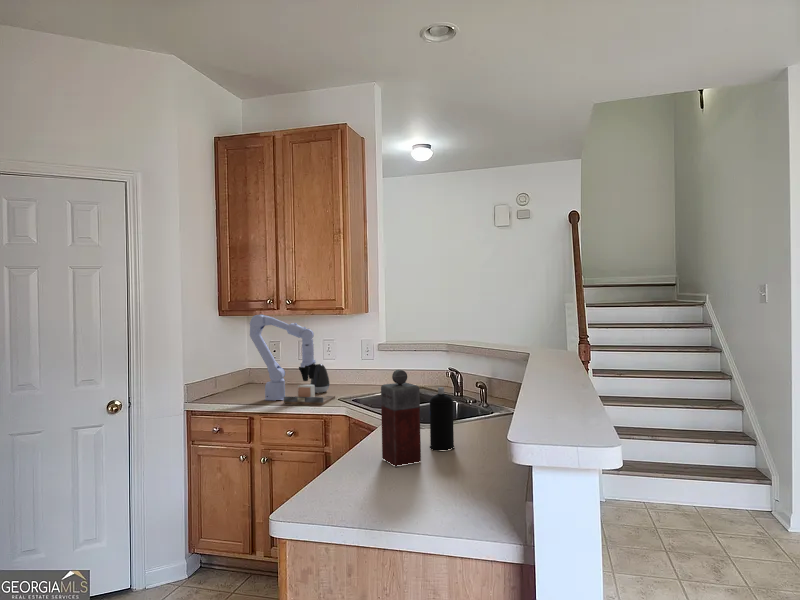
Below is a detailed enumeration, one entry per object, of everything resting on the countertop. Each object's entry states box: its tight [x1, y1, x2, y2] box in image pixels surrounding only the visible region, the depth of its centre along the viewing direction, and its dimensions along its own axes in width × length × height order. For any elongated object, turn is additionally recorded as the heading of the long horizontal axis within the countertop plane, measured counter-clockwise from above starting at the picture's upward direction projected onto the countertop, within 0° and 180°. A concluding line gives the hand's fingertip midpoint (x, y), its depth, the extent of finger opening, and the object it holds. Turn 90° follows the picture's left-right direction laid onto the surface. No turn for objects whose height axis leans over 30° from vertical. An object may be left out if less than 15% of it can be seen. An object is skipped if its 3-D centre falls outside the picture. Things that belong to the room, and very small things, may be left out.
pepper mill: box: [380, 369, 422, 466], centre depth 163 cm, size 9×11×28 cm
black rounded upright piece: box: [309, 363, 331, 394], centre depth 285 cm, size 10×10×15 cm
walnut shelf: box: [283, 395, 336, 406], centre depth 261 cm, size 20×17×3 cm
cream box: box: [297, 384, 316, 397], centre depth 259 cm, size 5×7×7 cm
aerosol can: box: [428, 386, 455, 451], centre depth 175 cm, size 8×8×20 cm
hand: (308, 379), depth 267 cm, fingers open, 7 cm apart
